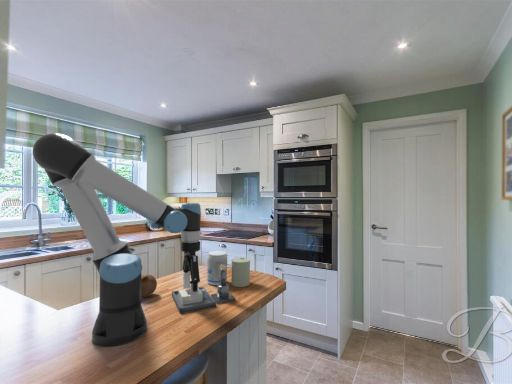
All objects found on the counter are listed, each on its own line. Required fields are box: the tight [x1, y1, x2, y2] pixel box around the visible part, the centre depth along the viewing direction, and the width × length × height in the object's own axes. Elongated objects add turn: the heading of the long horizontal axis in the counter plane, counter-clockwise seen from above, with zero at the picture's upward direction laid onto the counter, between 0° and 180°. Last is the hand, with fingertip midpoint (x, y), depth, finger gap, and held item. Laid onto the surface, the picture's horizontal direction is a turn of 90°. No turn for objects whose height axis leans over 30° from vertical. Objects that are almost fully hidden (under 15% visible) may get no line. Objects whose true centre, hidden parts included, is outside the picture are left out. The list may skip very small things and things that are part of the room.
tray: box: [171, 286, 217, 314], centre depth 108 cm, size 14×19×2 cm
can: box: [230, 257, 251, 288], centre depth 129 cm, size 9×9×12 cm
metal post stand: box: [210, 264, 236, 305], centre depth 110 cm, size 8×8×14 cm
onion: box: [141, 274, 158, 298], centre depth 112 cm, size 10×9×10 cm
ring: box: [177, 287, 206, 305], centre depth 107 cm, size 8×10×3 cm
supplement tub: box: [206, 250, 228, 286], centre depth 130 cm, size 10×10×15 cm
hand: (190, 293), depth 107 cm, fingers open, 13 cm apart
